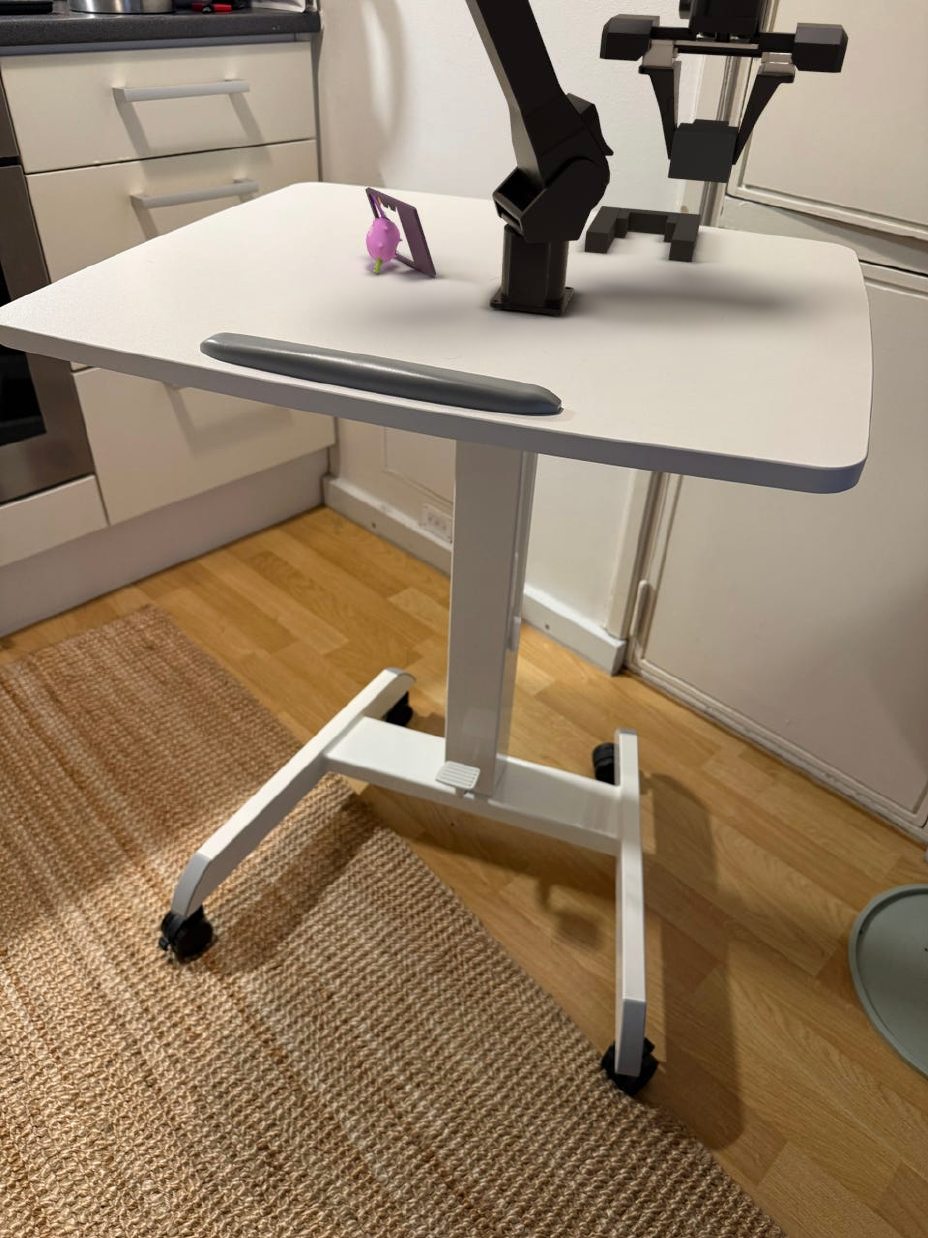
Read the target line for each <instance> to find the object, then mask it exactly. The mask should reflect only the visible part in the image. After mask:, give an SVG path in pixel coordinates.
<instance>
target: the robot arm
mask: <svg viewBox="0 0 928 1238" xmlns="http://www.w3.org/2000/svg"><path fill="white" fill-rule="evenodd" d="M464 1H465V3H466V5H467V9H468V11H469V13H470V16H471V18H472V20H473V23H474V25H475V27H476V30H477V33H478V35H479V38H480V39H481V43H482V44H483V47H484V49H485V52H486V54H487V57H488V59H489V62H490V64H491V66H492V69H493V72H494V74H495V76H496V79H497V82H498V84H499V86H500V88H501V91H502V93H503V96H504V98H505V101H506V103H507V107H508V113H509V122H510V123H509V124H510V136H511V144H512V148H513V151H514V156H515V160H516V164H517V165H516V166H515V168H514V169H513V170H512V171H511V172H510V173H509V174H508V175H507V177H506V178H504V179H503V181H502V182H501V183H500V184H499V185H498V186H497V187H496V188H495V190H493V192H492V194H491V196H492V201H493V204H494V207H495V211H496V214H497V216H498V218H500V219H502V220H503V221H504V222H505V223H506V224H504V226H503V236H502V237H503V238H502V259H501V279H500V281H501V282H500V283H501V284H500V287H499V288H498V289H497V291H496V292H495V293H494V294H493V296H492V297H491V298H490V299H489V307H490V308H495V309H503V310H504V309H505V310H512V311H513V310H514V311H522V312H531V313H539V314H547V315H562V314H563V313H564V312H565V310H566V308H567V306H568V304H569V302H570V300H571V299H572V297H573V295H574V289H575V288H574V287H572V286H567V285H566V284H567V272H568V262H569V261H568V260H569V249H570V242H576V241H577V242H578V241H579V240H580V239H581V236H582V234H583V232H584V229H585V226H586V225H587V222H588V220H589V217H590V215H591V212H592V210H593V209H595V208H596V207H597V206H598V205H599V203H600V202H601V201H602V199H603V197H604V196H605V193H606V191H607V187H608V186H609V185H610V182H611V170H610V164H609V160H608V158H607V157H612V156H614V154H615V153H614V152H615V151H614V150H613V149H612V148H611V147H610V146H609V145H608V144H607V142H606V139H605V137H604V136H603V132H602V131H603V130H602V126H601V121H600V120H601V119H600V115H599V111H598V109H597V106H596V104H595V103H593V102H591V101H588V100H587V99H584V98H582V97H580V96H577V95H575V94H574V93H571V92H567V93H565V91H564V90H563V88H562V86H561V84H560V81H559V79H558V76H557V74H556V71H555V68H554V66H553V62H552V60H551V57H550V55H549V53H548V49H547V46H546V44H545V41H544V38H543V36H542V33H541V30H540V27H539V25H538V22H537V19H536V17H535V14H534V11H533V9H532V5H531V2H530V1H529V0H464ZM768 5H769V0H679V2H678V16H679V19H680V20H688V24H687V26H682V27H681V26H667V25H666V26H665V25H660V24H661V16H660V15H655V14H653V15H652V14H651V15H650V14H631V13H630V14H629V13H618V14H616V15H614V16H612V17H610V18H609V19H608V21H607V22H605V24H604V25H603V27H602V31H601V38H600V49H599V50H600V51H599V56H598V57H599V59H601V60H608V61H609V60H610V61H625V62H638V61H639V60H640V59H641V64H640V65H639V66H638V68H637V74H638V75H645V76H648V77H649V79H650V83H651V86H652V89H653V93H654V96H655V99H656V102H657V106H658V110H659V114H660V119H661V125H662V132H663V136H664V142H665V144H664V145H665V148H666V155H667V160H668V161H670V158H671V151H672V145H673V138H674V133H675V131H676V130H677V128H678V126H679V103H680V84H681V83H680V82H681V74H682V73H681V71H682V63H683V61H682V60H677V59H678V58H679V56H680V54H681V55H683V54H684V55H700V56H701V55H702V56H717V57H719V56H721V57H736V58H737V57H738V58H752V59H753V58H755V59H760V64H762V65H759V66H758V69H757V72H756V75H755V77H754V82H753V85H752V88H751V91H750V94H749V97H748V100H747V103H746V107H745V111H744V113H743V117H742V119H741V123H740V127H739V132H738V135H737V139H736V142H735V148H734V153H733V159H732V166H736V165H737V163H738V161H739V159H740V157H741V155H742V153H743V151H744V148H745V146H746V144H747V143H748V141H749V139H750V136H751V134H752V132H753V130H754V128H755V126H756V124H757V122H758V120H759V118H760V117H761V115H762V113H763V111H764V110H765V108H766V107H767V105H768V104H769V102H770V100H771V99H772V97H773V96H774V94H775V93H776V92H777V90H778V88H779V86H780V85H782V84H787V85H788V84H793V83H795V78H796V69H797V71H798V72H810V73H811V72H812V73H825V74H826V73H828V74H841V73H842V69H843V65H844V62H845V61H844V60H845V56H846V53H847V49H848V43H849V36H848V33H847V31H846V30H845V28H844V26H843V25H842V24H834V23H820V22H819V23H816V22H815V23H814V22H797V23H796V27H795V32H783V31H781V32H780V31H765V30H764V27H765V23H766V16H767V11H768ZM763 30H764V31H763Z"/></svg>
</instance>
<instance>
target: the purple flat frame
mask: <svg viewBox="0 0 928 1238" xmlns="http://www.w3.org/2000/svg"><path fill="white" fill-rule="evenodd" d="M365 194H366V197H367V199H368V203H369V205H370V208H371V211H372V214H373V218H371V219H372V224H371V226H370V227H369V228H368V230H367V233H366V238H365V246H366V250H367V253H368V254H369V256H370V258H371V259H373V260H374V261H376V262H375V265H374V266H373V267H374V270H373V272H374V273H375V274H379V272H380V270H381V267H382V265H383V264H387V263H389V262H391V261H392V260H393V259H397V260H399V261H401V262H403V263H405V264H406V265H408V266H411V267H412V268H414V269H416V270H418V271H420V272H421V273H424V274H426V275H428V276H429V277H432V278H434V277H436V276H437V271H436V268H435V265H434V261H433V257H432V255H431V252H430V248H429V245H428V242H427V238H426V236H425V232H424V229H423V226H422V222H421V219H420V215H419V212H418V210H417V208H416V207H415V206H413V205H411V204H409V203H407V202H404V201H403V200H400V199H397V198H395V197H393V196H391V195H388V194H386V193H384V192H381V190H377V189H374V188H372V187H370V186H368V187H367V188H365ZM381 205H382V206H381ZM383 208H386V209H390V211H392V212H397V214H398V217H399V221H400V223H401V227H402V230H403V233H404V236H405V239H406V242H407V246H408V248H409V251H410V254H411V258H412V260H411V259H409V258H407V257H405V256H403V255H401V254H400V253H399V251H398V250H397V249H398V246H399V243H401V242H404V240H403V239H402V238H401V232H400V229H399V228H398V225H396V223H395V222H393V221H392V220H391V219H390V218H389V217H388V216H387V214H386V212H385V210H383Z"/></svg>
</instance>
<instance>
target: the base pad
mask: <svg viewBox="0 0 928 1238" xmlns="http://www.w3.org/2000/svg"><path fill="white" fill-rule="evenodd" d="M701 219H702V214H699V213H687V212H675V211H665V210H654V209H653V210H652V209H640V208H630V207H619V206H608V205H601V206H600V208H599V209H598V211H597V213H596V214H595V216H594V218H593V220H592V221H591V223H590V225H589V226H588V228H587V230H586V231H585V238H584V239H585V241H584V249H583V250H584V252H590V253H599V254H607V253H608V250H609V248H610V246H611V244H612V242H613V240H614V238H619V239H620V238H621V239H625V238H626V235H627V234H628V232H635V233H637V232H639V233H648V234H658V235H663V242H664V243H670V248H669V255H668V260H670V261H679V262H692V260H693V256H694V252H695V249H696V245H697V244H696V243H697V239H698V235H699V231H700V225H701Z"/></svg>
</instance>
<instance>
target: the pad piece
mask: <svg viewBox="0 0 928 1238" xmlns="http://www.w3.org/2000/svg"><path fill="white" fill-rule="evenodd" d="M739 129H740V127H739V126H735V125H733V126H732V125H730V121H728V120H719V119H718V120H717V119H706V118H705V119H704V118H695V119H694V120H693V122H680V123H679V124H678V128H677V130H676V131H675V133H674V138H673V145H672V151H671V158H670V160H669V166H668V173H667V179H673V180H683V181H695V182H696V181H697V182H708V183H718V184H719V183H720V184H728V182H729V180H730V176H731V172H732V169H733V165H732V159H733V153H734V148H735V142H736V139H737V135H738V132H739Z"/></svg>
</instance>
